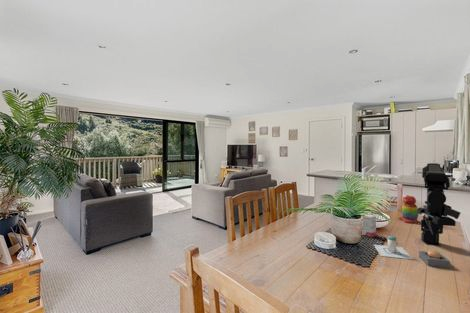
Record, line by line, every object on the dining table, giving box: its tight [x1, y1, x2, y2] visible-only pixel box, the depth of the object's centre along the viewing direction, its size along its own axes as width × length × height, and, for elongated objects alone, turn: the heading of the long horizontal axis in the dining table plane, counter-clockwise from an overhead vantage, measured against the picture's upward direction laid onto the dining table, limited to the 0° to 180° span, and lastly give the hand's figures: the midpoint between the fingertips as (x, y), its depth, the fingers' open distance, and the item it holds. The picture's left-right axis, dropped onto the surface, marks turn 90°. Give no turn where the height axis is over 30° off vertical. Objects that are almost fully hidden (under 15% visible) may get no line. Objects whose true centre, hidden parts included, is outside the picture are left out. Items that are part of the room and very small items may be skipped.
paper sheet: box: [373, 244, 415, 260], centre depth 115 cm, size 13×13×1 cm
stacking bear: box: [397, 195, 420, 224], centre depth 162 cm, size 11×10×18 cm
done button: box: [426, 249, 441, 259], centre depth 104 cm, size 4×4×2 cm
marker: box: [387, 235, 397, 253], centre depth 115 cm, size 4×4×7 cm
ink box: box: [361, 214, 377, 238], centre depth 138 cm, size 9×5×12 cm, turn 33°
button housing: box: [418, 250, 451, 269], centre depth 105 cm, size 8×8×3 cm
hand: (434, 234), depth 104 cm, fingers closed
